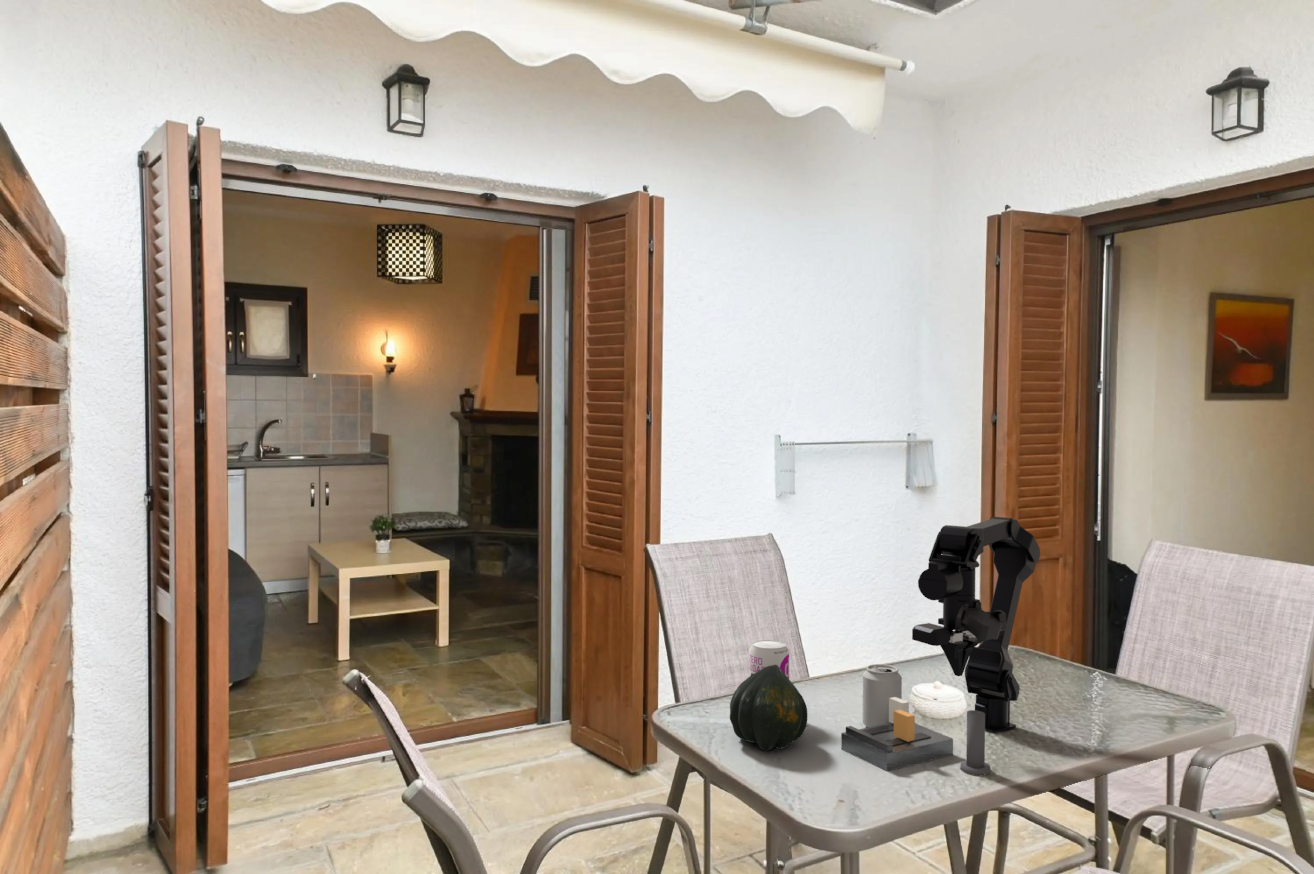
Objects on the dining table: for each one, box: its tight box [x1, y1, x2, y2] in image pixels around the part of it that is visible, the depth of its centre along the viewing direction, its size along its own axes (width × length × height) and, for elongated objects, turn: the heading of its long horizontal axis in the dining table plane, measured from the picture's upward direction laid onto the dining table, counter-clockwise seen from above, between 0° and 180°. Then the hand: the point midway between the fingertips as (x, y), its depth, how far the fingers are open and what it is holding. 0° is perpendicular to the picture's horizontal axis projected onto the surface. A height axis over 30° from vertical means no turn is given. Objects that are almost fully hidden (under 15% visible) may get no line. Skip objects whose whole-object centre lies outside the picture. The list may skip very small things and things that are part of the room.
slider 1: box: [889, 697, 910, 723], centre depth 173 cm, size 2×4×4 cm, turn 29°
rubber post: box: [959, 709, 992, 776], centre depth 159 cm, size 5×5×10 cm
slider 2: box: [894, 710, 916, 742], centre depth 165 cm, size 2×4×4 cm, turn 29°
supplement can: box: [748, 639, 790, 680], centre depth 187 cm, size 8×8×15 cm
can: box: [862, 663, 903, 728], centre depth 181 cm, size 8×8×12 cm
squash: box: [729, 665, 808, 752], centre depth 172 cm, size 14×15×15 cm
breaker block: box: [840, 722, 954, 772], centre depth 167 cm, size 16×12×4 cm
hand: (958, 675), depth 171 cm, fingers closed
